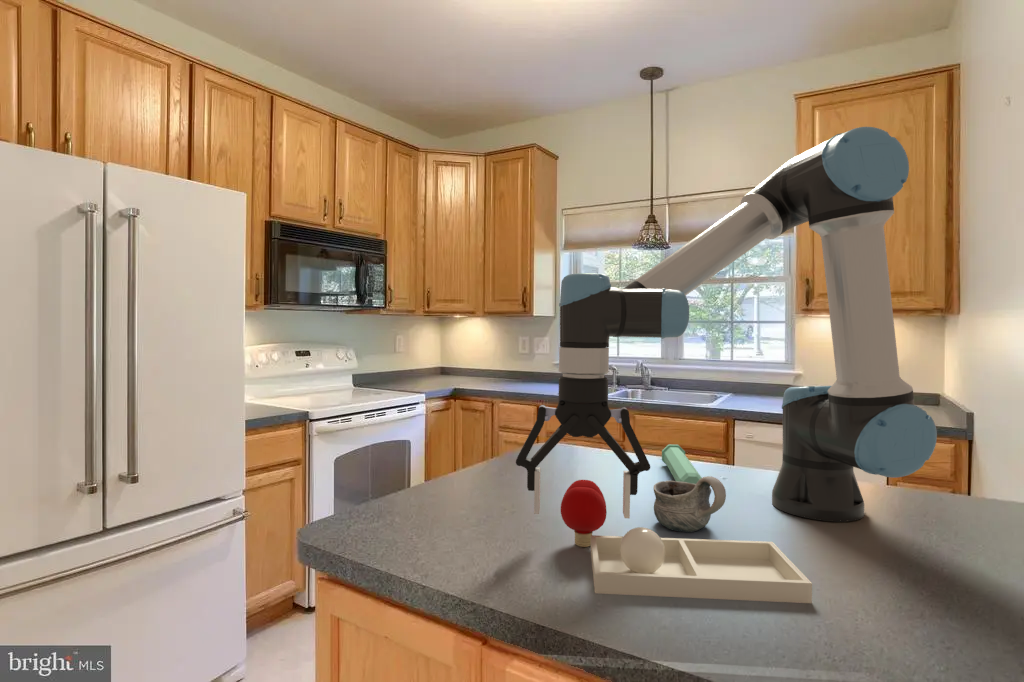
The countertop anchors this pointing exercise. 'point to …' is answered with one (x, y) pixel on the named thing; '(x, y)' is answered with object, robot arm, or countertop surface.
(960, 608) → the countertop surface
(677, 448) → the green octagonal rod
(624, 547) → the egg
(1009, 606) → the countertop surface
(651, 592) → the tray
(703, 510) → the mug
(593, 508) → the red rounded piece
